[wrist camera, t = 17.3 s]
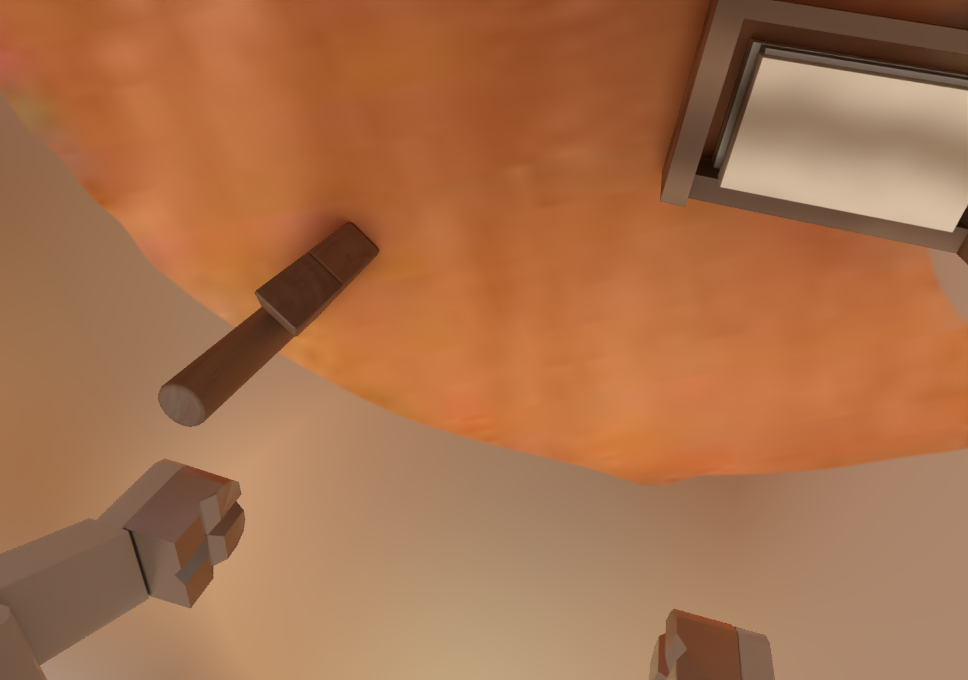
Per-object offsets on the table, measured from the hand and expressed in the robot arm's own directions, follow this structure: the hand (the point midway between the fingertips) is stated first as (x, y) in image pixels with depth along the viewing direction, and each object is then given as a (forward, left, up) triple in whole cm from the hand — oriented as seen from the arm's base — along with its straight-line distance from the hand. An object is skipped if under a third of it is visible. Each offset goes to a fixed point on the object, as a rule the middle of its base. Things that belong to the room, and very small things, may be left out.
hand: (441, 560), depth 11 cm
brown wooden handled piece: (-8, -26, -39) cm, 47 cm away
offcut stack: (+9, +10, -39) cm, 41 cm away
